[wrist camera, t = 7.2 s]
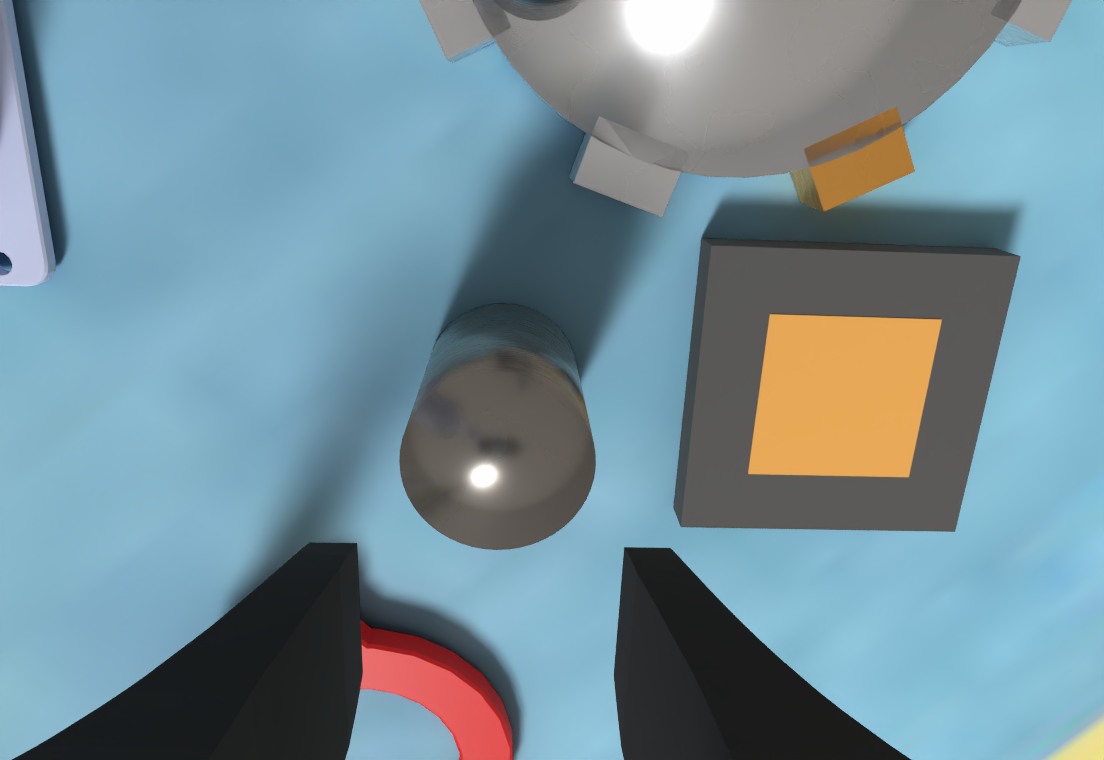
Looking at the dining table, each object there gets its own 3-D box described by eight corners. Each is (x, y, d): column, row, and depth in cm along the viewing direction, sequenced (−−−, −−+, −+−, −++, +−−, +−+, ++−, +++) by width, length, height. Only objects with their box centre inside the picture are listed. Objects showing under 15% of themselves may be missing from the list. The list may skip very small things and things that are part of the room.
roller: (429, 441, 20) (401, 548, 15) (427, 301, 19) (397, 369, 14) (573, 444, 20) (589, 550, 15) (581, 305, 19) (601, 374, 14)
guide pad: (673, 507, 21) (681, 527, 20) (701, 237, 18) (711, 246, 17) (935, 512, 21) (955, 532, 20) (995, 248, 19) (1021, 256, 18)
